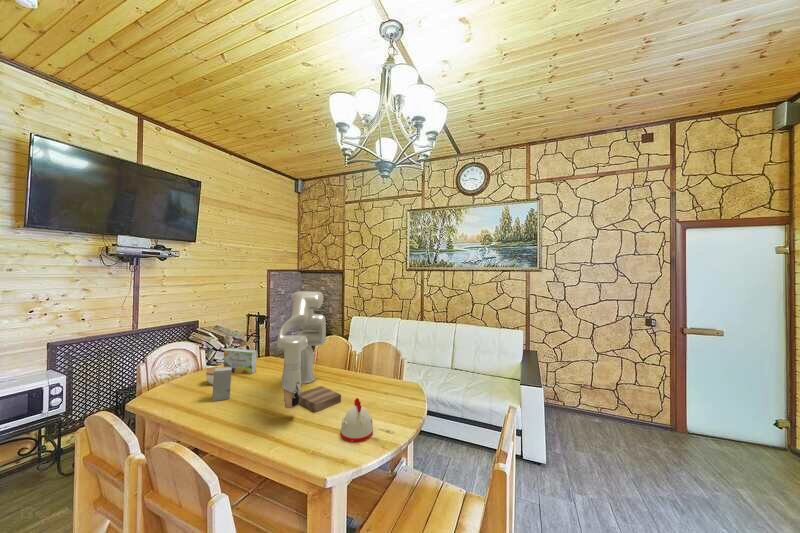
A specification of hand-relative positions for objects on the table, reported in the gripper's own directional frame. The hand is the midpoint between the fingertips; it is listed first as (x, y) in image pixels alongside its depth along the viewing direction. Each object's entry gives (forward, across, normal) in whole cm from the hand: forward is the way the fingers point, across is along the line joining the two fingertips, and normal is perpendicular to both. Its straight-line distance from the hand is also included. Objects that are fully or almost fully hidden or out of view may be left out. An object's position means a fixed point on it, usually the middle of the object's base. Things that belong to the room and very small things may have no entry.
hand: (291, 402), depth 143 cm
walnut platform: (+7, -4, +19) cm, 20 cm away
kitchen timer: (+7, +34, +12) cm, 36 cm away
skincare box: (+8, -46, -13) cm, 49 cm away
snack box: (+9, -82, +10) cm, 83 cm away
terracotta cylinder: (+1, 0, 0) cm, 1 cm away
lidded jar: (+8, -72, -7) cm, 72 cm away
